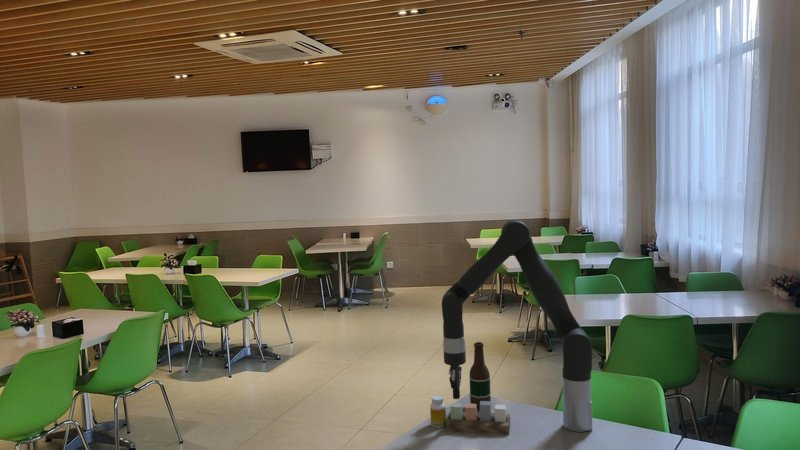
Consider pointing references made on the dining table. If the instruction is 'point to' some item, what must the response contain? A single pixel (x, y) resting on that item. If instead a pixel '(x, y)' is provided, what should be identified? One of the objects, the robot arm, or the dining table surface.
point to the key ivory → (500, 413)
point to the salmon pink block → (471, 412)
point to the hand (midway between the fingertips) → (456, 398)
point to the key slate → (485, 411)
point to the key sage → (456, 411)
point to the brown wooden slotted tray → (478, 425)
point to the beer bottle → (479, 377)
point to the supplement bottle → (438, 412)
